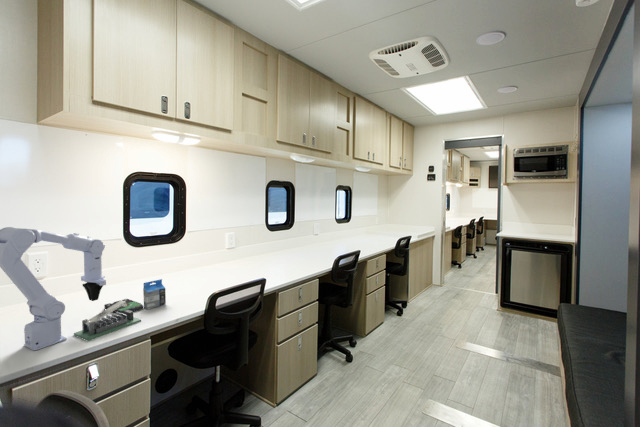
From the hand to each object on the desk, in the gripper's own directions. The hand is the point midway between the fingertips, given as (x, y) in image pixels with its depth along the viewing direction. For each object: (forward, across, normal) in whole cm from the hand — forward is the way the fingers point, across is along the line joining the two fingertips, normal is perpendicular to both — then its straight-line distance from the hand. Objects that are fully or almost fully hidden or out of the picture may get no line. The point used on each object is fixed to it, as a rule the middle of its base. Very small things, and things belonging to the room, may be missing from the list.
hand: (93, 299), depth 123 cm
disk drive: (+11, +6, -16) cm, 20 cm away
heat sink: (+10, -9, +1) cm, 13 cm away
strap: (+5, -9, 0) cm, 10 cm away
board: (+10, -9, -1) cm, 14 cm away
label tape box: (+11, -3, -25) cm, 27 cm away
